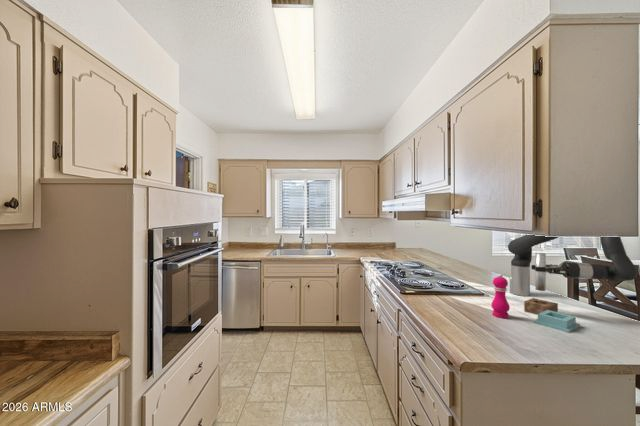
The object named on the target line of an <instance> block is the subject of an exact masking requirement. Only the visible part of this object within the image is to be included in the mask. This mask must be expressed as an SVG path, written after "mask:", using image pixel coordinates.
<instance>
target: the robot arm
mask: <svg viewBox="0 0 640 426" xmlns="http://www.w3.org/2000/svg"><path fill="white" fill-rule="evenodd" d="M558 238H559V237H545V236H535V235H527V234H524V235H522V236H520V237H518V238H514V239H512V240H511V241H510V242H509V243H508V245H507V250H508V251H509V252H510V253H511V254H513V255H514V256H513V258H512V259H511V261H510V268H511V269H510V270H511V271H510V275H511V276H510V277H509V293H510V294H513V295H515V296H521V297H529V296H531V270H534V271H538V272H546V274H550V275H562V277H564V278H567V279H577V280H581V279H582V280H586V279H588V280H590V279H591V280H605V281H612V282H613V281H615V282H626V281H633V280H635V279H636V278H637V277H638V269H637V267H636V266H635V264H634V263H633V261H632V260H631V259H630V257H629V256H628V255H627V252H626V249H625V246H624V244H623V241H622V238H621V236H620V237H599V238H600V245H601V248H602V250H603V251H602V252H603V254H604V257H605V259H607V260H608V261H611V262H612V264H613V265H603V264H600V263H587V262H586V263H585V262H575V261H573V262H572V261H570V262H569V261H564V262H562V263H561V265H559V264H552V263H551V264H547V263H546V267H535V264H532V265H531V263H532V260H533V259H532V257H533V247H535V246H538V245H540V244H544V243H548V242H550V241H554V240H556V239H558Z"/></svg>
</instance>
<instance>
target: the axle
mask: <svg viewBox="0 0 640 426" xmlns="http://www.w3.org/2000/svg"><path fill="white" fill-rule="evenodd" d="M534 255H535V257H534V259H535V261H534V263H535V264H534V265H535V267H546V264H547V263H546V262H547V261H546V260H547V259H546V258H547V257H546V256H547V255H546V253H544V252H535V253H534ZM534 271H535V270H534ZM546 275H547V273H546V272H538V271H535V273H534V276H535V277H534V279H535V280H534V281H535V282H534V283H535V284H534V285H535V288H534V289H535V291H540V292H546V289H547V288H546V287H547V285H546V280H547V279H546V278H547V277H546Z"/></svg>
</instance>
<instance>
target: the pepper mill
mask: <svg viewBox="0 0 640 426" xmlns="http://www.w3.org/2000/svg"><path fill="white" fill-rule="evenodd" d="M492 285H494V286H493V288H494V289H493V290H494V298H493V299H492V302H491V309H493V310H492V315H493V316H494V317H496V318H499V319H508V318H509V310H510V309H511V308H510V304H509V301H508V300H507V297H506V293H507V287H508V285H509V283H508V280H507V279H506V278H505V277H503V274H502V273H498V274H497V276H496V277H494V278H493V280H492Z"/></svg>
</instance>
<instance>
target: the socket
mask: <svg viewBox="0 0 640 426" xmlns="http://www.w3.org/2000/svg"><path fill="white" fill-rule="evenodd" d="M576 319H577V318H576V316H574V315H569V314H565V313H561V312H559V311H558V312H554V311H550V310H546V311H544V312H541V313H539V314H538V315H537V319H534V320H533V323H534V324H537V325H541V326H544V327H549V328H551V329H555V330H559V331H563V332H565V333H571V332H572V331H574V330H577V328H579V327H581V326H580V325H581V324H580V323H577V320H576Z"/></svg>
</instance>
